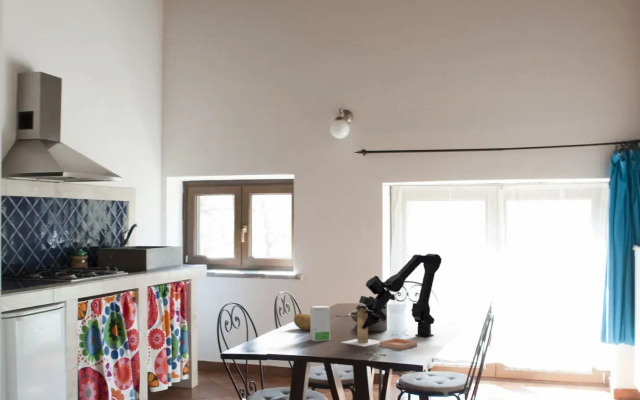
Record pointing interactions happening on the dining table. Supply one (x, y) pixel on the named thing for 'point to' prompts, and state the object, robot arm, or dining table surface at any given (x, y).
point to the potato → (302, 321)
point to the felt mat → (355, 342)
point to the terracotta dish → (398, 344)
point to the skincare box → (320, 323)
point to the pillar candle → (379, 323)
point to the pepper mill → (362, 333)
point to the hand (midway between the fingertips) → (359, 327)
